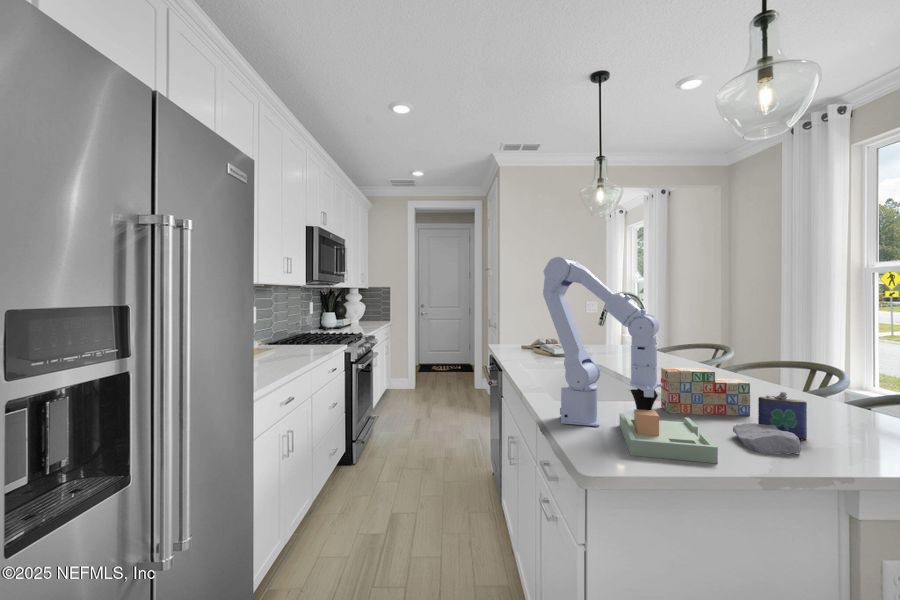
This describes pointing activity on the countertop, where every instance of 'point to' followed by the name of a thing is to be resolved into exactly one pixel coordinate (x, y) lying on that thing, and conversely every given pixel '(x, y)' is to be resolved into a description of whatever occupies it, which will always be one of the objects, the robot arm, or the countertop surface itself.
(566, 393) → the robot arm
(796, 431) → the flask
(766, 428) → the stone block
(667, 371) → the stack of blocks
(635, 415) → the block
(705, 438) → the board
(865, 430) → the countertop surface
